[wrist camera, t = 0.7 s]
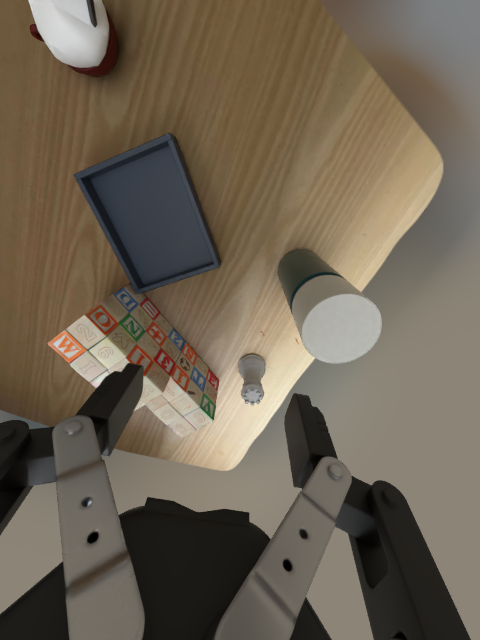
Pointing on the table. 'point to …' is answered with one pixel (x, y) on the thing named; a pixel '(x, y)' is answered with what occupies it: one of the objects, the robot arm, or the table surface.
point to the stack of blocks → (142, 358)
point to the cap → (335, 319)
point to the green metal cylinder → (301, 271)
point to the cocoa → (77, 33)
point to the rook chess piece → (252, 378)
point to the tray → (151, 214)
